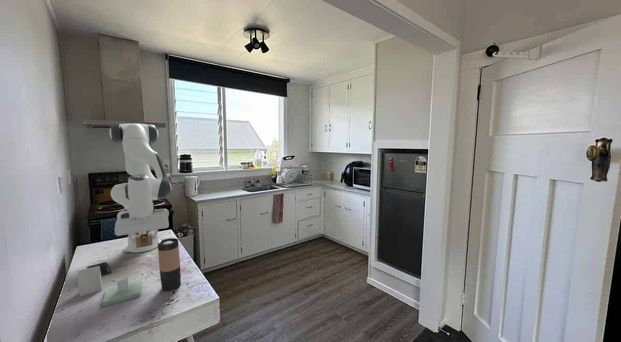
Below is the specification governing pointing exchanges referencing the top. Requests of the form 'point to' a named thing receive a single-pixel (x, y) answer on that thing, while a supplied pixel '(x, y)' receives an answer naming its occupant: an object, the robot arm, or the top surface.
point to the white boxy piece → (89, 281)
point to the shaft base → (122, 291)
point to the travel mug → (169, 264)
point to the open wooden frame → (144, 240)
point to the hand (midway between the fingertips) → (144, 240)
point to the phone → (102, 268)
